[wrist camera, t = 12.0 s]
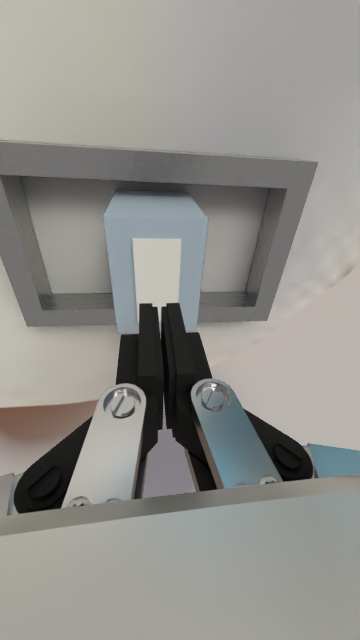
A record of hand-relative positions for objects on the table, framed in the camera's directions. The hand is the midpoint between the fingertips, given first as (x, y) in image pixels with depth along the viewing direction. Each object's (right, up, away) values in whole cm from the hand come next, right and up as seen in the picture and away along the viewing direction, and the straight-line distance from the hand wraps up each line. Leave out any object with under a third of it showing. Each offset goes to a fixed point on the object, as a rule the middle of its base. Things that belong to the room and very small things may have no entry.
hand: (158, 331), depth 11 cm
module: (-1, +7, +9) cm, 11 cm away
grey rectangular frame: (-1, +7, +9) cm, 11 cm away
